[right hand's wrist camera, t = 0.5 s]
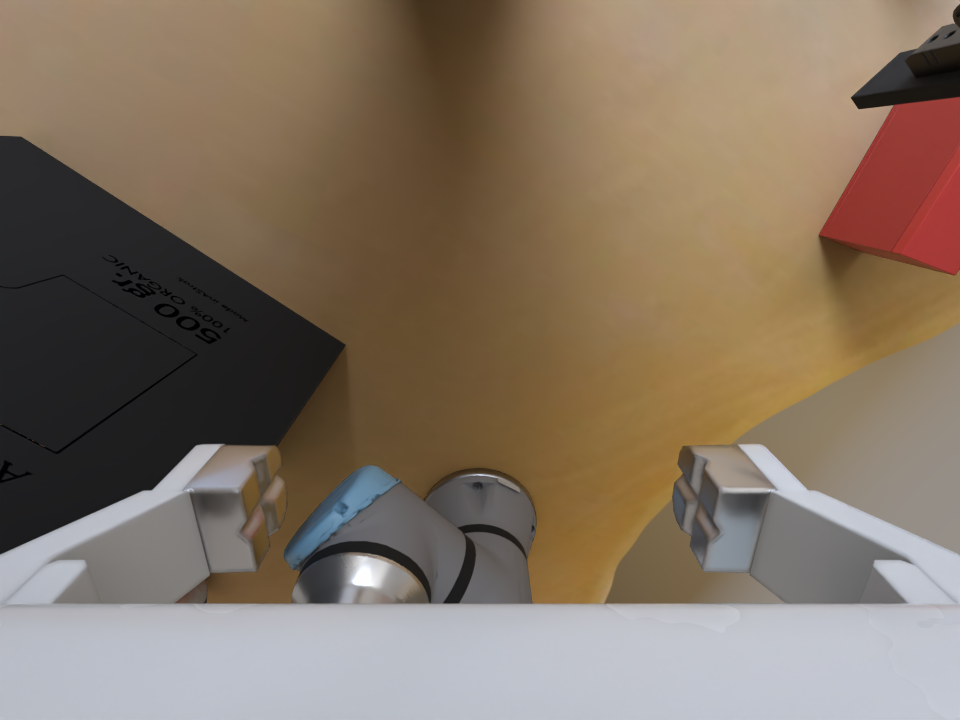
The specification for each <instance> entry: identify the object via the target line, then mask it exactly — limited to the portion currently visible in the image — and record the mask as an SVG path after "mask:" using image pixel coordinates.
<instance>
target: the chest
mask: <svg viewBox="0 0 960 720" xmlns="http://www.w3.org/2000/svg"><path fill="white" fill-rule="evenodd" d="M959 146H960V97H956V98H948V99H940V100H931V101H923V102H915V103H906V104H898V105H894V106H893V108H892V110H891V111H890V113H889V115H888V117H887V118H886V120H885V122H884V124H883V125H882V127H881V129H880V130H879V132H878V134H877V136H876V137H875V139H874V141H873V142H872V144H871V146H870V148H869V149H868V151H867V153H866V155H865V156H864V158H863V160H862V161H861V163H860V165H859V167H858V168H857V170H856V172H855V173H854V175H853V177H852V179H851V180H850V182H849V184H848V186H847V187H846V189H845V191H844V192H843V194H842V196H841V198H840V199H839V201H838V203H837V204H836V206H835V208H834V210H833V211H832V213H831V215H830V217H829V218H828V220H827V222H826V223H825V225H824V227H823V229H822V230H821V232H820V234H819V235H820V236H822V237H825V238H827V239H830V240H833V241H835V242H838V243H840V244H843V245H846V246H848V247H851V248H853V249H856V250H859V251H861V252H864V253H868V254H872V255H876V256H880V257H883V258H887V259H891V260H895V261H899V262H903V263H907V264H911V265H915V266H919V267H923V268H927V269H931V270H935V271H938V270H936V269H933V268H930V267H928V266H925V265H923V264H920V263H918V262H915V261H912V260H910V259H907V258H905V257H902V256H900V255H897V254H894V253H892V250H893V249H894V247H895V246H896V244H897V242H898V241H899V239H900V238H901V236H902V235H903V233H904V232H905V230H906V228H907V227H908V225H909V224H910V222H911V221H912V219H913V217H914V216H915V214H916V213H917V211H918V210H919V208H920V207H921V205H922V203H923V202H924V200H925V199H926V197H927V196H928V194H929V192H930V191H931V189H932V188H933V186H934V185H935V183H936V182H937V180H938V178H939V177H940V175H941V174H942V172H943V171H944V169H945V167H946V166H947V164H948V163H949V161H950V160H951V158H952V157H953V155H954V153H955V152H956V150H957V149H958V147H959ZM939 272H941V271H939Z"/></svg>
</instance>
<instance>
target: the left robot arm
mask: <svg viewBox="0 0 960 720" xmlns="http://www.w3.org/2000/svg"><path fill="white" fill-rule="evenodd" d="M953 19H954V22H955V24H950V25H947V26H943V27H941V28H940V29H939V30H938V31H937V32H936V33H934V34H933V35H932V36H931V37H930V38H929V39H928V40H927V41H926V42H924V43H923V44H922V45H921V46H920V47H919V48H918V49H914V50H910V51H906V52H902V53H899V54H898V55H897V56H896V57H895V58H894V59H893V60H892V61H891V62H889V63H888V64H887V65H886V66H885V67H884V68H883V69H882V70H881V71H880V72H878V73H877V74H876V75H875V76H874V77H873V78H872V79H871V80H870V81H869V82H867V83H866V84H865V85H864V86H863V87H862V88H861V89H860V90H859V91H858V92H856V93H855V94H854V95H853V96H852V97H851V99H852V100H853V102H854V103H855V105H856V106H857V107H858V109H865V108H873V107H881V106H890V105H898V104H906V103H915V102H923V101H931V100H940V99H948V98H956V97H960V4H959V5H958V6H957V7H956V9H955V10H954V12H953ZM535 531H536V513H535V507H534V503H533V500H532V498H531V496H530V494H529V493H528V491H527V490H526V489H525V488H524V487H523V486H522V485H521V484H520V483H519V482H518V481H517V480H515V479H514V478H512V477H510V476H508V475H506V474H504V473H502V472H499V471H495V470H490V469H480V468H476V469H466V470H462V471H458V472H455V473H453V474H450V475H448V476H446V477H445V478H443V479H442V480H440V481H439V482H438V483H436V484H435V485H434V486H433V487H432V489H431V490H430V491H429V493H428V494H427V496H426V498H425V500H424V501H423V500H422V499H421V498H420V497H419V496H417V495H416V494H415V493H414V492H412V491H411V490H410V489H409V488H408V487H406V486H405V485H404V484H403V483H402V481H401V480H400V479H395V478H394V477H392V476H391V475H389V474H388V473H386V472H385V471H384V470H382V469H381V468H379V467H377V466H374V465H367V466H364V467H361V468H359V469H357V470H356V471H354V472H353V473H352V474H351V475H349V476H348V477H347V478H346V479H345V480H344V481H343V482H341V483H340V484H339V485H338V486H337V487H336V488H335V489H334V490H333V491H332V492H331V493H330V494H329V495H328V496H327V497H326V499H325V500H324V501H323V502H322V503H321V504H320V505H319V506H318V507H317V508H316V509H315V510H314V512H313V513H312V514H311V515H310V516H309V517H308V518H307V520H306V521H305V522H304V523H303V525H302V526H301V527H300V528H299V529H298V531H297V532H296V533H295V535H294V536H293V538H292V539H291V540H290V542H289V543H288V545H287V547H286V549H285V551H284V559H285V561H286V562H287V563H288V564H289V565H290V568H291V569H292V570H296V569H297V570H298V571H299V572H300V574H299V577H298V579H297V581H296V584H295V586H294V589H293V592H292V604H533V603H532V596H531V588H530V580H529V573H528V565H527V558H528V554H529V551H530V548H531V545H532V542H533V539H534V536H535Z"/></svg>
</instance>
